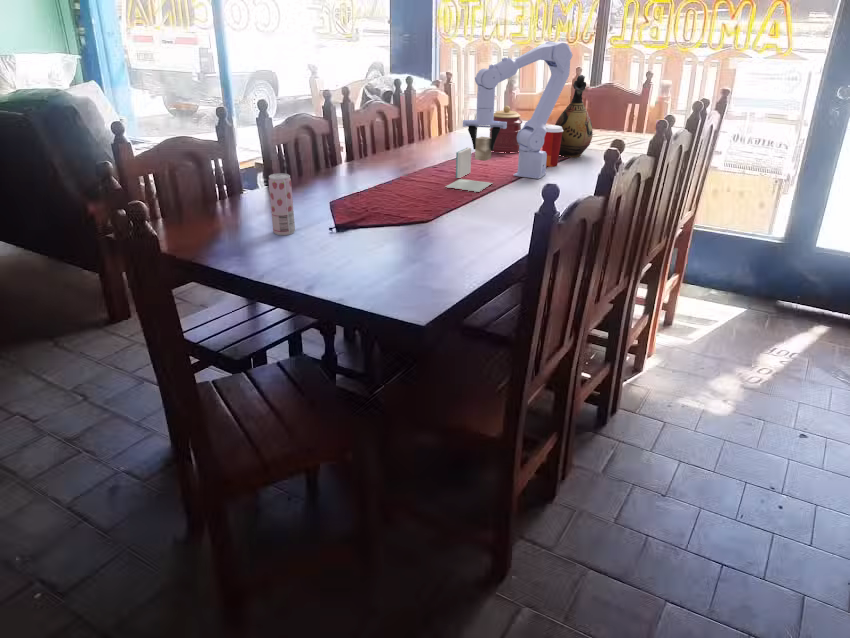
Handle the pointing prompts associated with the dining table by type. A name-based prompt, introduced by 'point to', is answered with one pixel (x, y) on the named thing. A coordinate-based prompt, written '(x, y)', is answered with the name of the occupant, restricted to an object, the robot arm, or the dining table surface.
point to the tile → (463, 162)
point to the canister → (507, 131)
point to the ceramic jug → (575, 124)
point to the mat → (469, 185)
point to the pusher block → (483, 148)
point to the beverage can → (281, 204)
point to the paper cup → (552, 144)
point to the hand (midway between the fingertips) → (483, 149)
